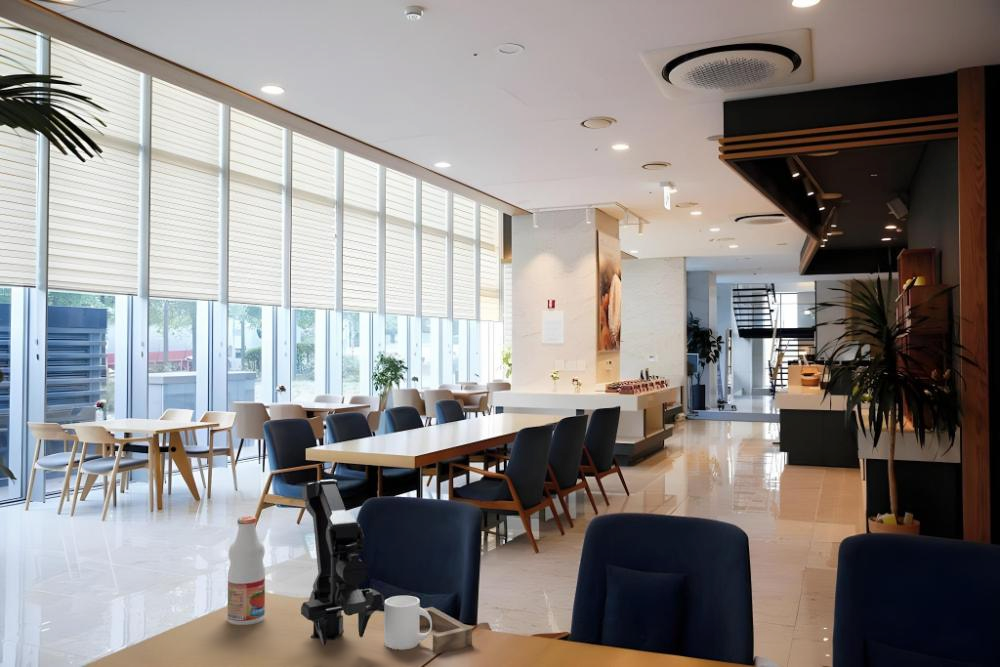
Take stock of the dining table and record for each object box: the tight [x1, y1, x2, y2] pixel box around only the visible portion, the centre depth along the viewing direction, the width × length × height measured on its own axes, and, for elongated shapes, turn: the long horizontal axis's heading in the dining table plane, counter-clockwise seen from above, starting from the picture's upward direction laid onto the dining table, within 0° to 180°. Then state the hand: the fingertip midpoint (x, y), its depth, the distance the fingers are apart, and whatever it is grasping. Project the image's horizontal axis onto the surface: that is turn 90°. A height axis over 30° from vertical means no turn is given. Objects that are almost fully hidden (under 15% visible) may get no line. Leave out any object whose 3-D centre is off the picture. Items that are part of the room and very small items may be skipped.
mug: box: [383, 595, 433, 651], centre depth 192 cm, size 9×12×11 cm
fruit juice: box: [226, 516, 266, 626], centre depth 206 cm, size 9×9×28 cm
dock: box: [419, 606, 473, 654], centre depth 197 cm, size 10×20×4 cm, turn 34°
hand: (342, 640), depth 183 cm, fingers open, 9 cm apart
